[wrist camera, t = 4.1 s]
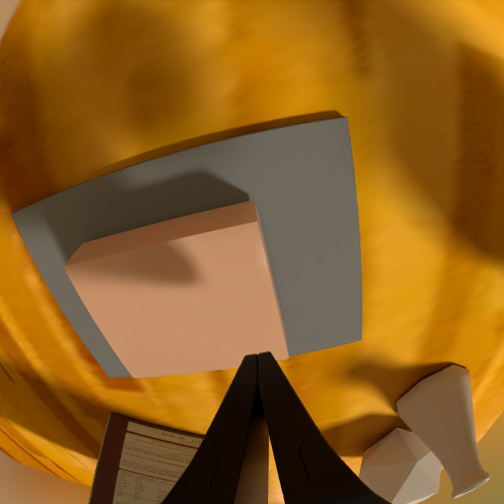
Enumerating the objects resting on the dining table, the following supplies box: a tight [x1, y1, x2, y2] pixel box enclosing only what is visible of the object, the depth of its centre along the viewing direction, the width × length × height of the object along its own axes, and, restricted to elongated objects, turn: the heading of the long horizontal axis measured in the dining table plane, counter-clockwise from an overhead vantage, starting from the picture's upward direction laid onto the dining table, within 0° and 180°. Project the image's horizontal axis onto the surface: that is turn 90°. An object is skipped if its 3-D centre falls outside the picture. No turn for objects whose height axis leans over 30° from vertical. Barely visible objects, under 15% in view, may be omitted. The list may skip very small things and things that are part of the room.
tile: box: [64, 200, 289, 378], centre depth 14 cm, size 2×7×8 cm
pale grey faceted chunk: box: [359, 427, 441, 504], centre depth 22 cm, size 8×9×10 cm
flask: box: [396, 364, 491, 498], centre depth 17 cm, size 7×7×10 cm
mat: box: [12, 116, 362, 377], centre depth 15 cm, size 16×12×1 cm
